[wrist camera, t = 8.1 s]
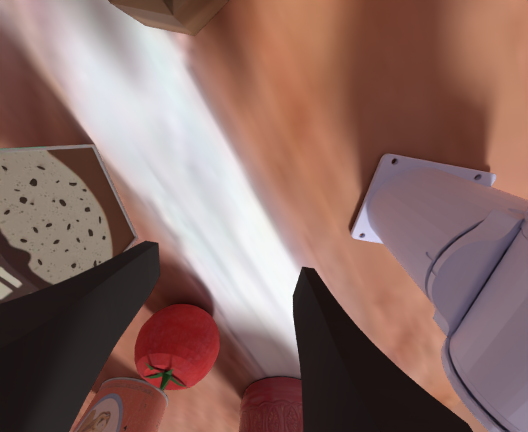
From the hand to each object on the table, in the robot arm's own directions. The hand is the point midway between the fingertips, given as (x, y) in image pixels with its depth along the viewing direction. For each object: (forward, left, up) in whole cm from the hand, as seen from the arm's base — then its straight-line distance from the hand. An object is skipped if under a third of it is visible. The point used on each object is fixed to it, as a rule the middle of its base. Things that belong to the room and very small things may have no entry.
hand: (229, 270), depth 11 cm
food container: (+15, +3, -10) cm, 18 cm away
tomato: (+5, +17, -10) cm, 20 cm away
